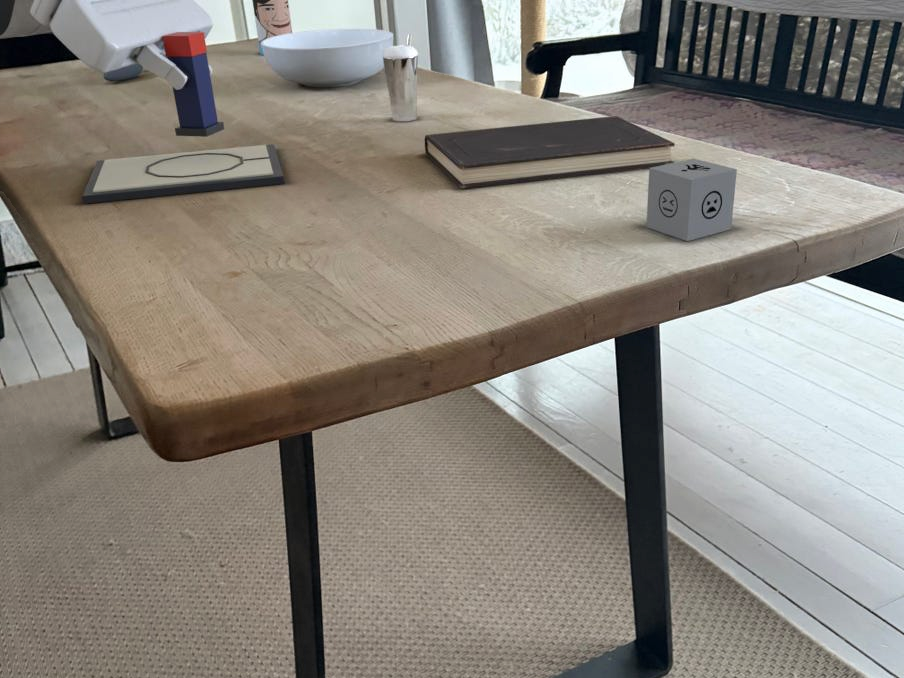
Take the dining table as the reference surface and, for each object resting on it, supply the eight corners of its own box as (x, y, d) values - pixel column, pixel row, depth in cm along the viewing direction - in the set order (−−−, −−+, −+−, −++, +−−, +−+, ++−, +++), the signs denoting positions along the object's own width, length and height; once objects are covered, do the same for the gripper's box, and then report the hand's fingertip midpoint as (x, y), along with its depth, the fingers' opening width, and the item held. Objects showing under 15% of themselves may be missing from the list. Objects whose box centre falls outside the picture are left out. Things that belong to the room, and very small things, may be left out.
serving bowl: (240, 87, 153) (233, 41, 150) (337, 68, 167) (333, 26, 163) (326, 99, 141) (320, 49, 138) (423, 77, 155) (420, 31, 151)
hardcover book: (673, 165, 100) (674, 142, 98) (460, 189, 95) (459, 165, 93) (613, 135, 113) (614, 114, 112) (425, 154, 108) (423, 133, 107)
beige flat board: (83, 204, 95) (81, 193, 95) (98, 167, 109) (96, 157, 108) (284, 183, 99) (283, 173, 99) (275, 150, 113) (273, 141, 112)
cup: (261, 56, 185) (248, -31, 177) (259, 51, 190) (247, -32, 183) (296, 53, 186) (285, -33, 178) (293, 49, 192) (282, -35, 184)
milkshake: (430, 115, 128) (425, 34, 123) (412, 123, 123) (406, 40, 118) (400, 113, 129) (394, 34, 124) (381, 121, 125) (374, 39, 120)
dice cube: (731, 229, 80) (736, 169, 78) (687, 241, 78) (691, 179, 76) (689, 215, 84) (693, 158, 81) (646, 227, 82) (649, 168, 79)
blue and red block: (175, 135, 103) (157, 36, 98) (194, 128, 106) (176, 31, 101) (207, 136, 102) (189, 36, 97) (224, 129, 106) (208, 31, 100)
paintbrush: (126, 84, 160) (119, 53, 158) (99, 85, 161) (92, 53, 159) (179, 66, 177) (174, 37, 174) (154, 67, 178) (149, 38, 175)
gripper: (137, -6, 109) (228, 84, 112) (18, 16, 92) (128, 122, 95) (163, -51, 106) (257, 43, 108) (44, -37, 89) (158, 74, 92)
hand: (196, 80), depth 102 cm, fingers closed on blue and red block, 3 cm apart
